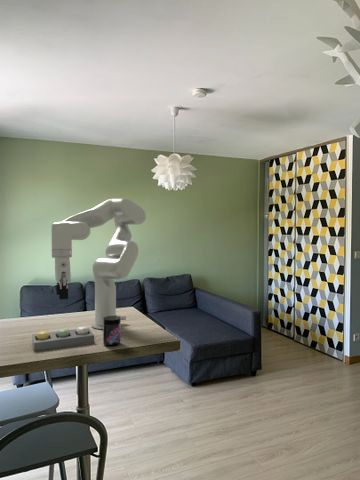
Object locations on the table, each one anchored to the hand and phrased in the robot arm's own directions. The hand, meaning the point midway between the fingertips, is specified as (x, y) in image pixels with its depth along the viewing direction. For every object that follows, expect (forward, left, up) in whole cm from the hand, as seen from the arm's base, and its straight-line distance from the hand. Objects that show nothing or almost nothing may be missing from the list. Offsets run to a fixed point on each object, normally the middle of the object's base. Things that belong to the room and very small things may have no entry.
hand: (62, 296), depth 137 cm
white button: (-8, 0, -16) cm, 18 cm away
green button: (0, 0, -16) cm, 16 cm away
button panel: (0, 0, -18) cm, 18 cm away
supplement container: (-17, +10, -18) cm, 27 cm away
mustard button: (+7, 0, -16) cm, 18 cm away
